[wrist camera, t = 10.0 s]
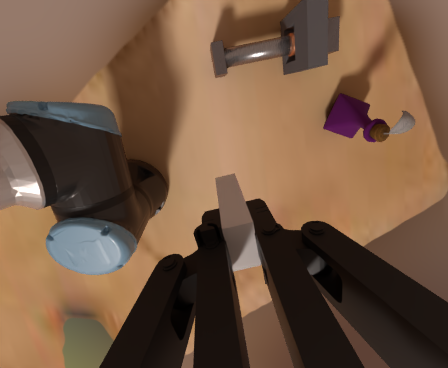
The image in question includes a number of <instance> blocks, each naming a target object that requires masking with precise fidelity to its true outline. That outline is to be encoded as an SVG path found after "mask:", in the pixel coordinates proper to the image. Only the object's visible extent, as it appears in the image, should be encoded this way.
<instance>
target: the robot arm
mask: <svg viewBox="0 0 448 368" xmlns="http://www.w3.org/2000/svg"><path fill="white" fill-rule="evenodd" d="M6 111H7V113H8V114H9V115H6V116H0V210H2V209H5V208H8V207H11V206H14V205H20V206H24V207H28V208H33V209H37V210H39V209H42V208H45V207H47V206H51V208H52V210H53V212H54V215H55V217H56V220H57V223H56V224H55V225H54V226H52V227H51V229H50V232H49V234H48V236H47V238H46V247H47V250H48V252H49V254H50V255H51V256H52V258H53V259H54V260H55V261H56V262H58V263H59V264H60V265H62V266H64V267H66V268H67V269H69V270H73V271H76V272H78V273H82V274H89V275H102V274H108V273H111V272H114V271H116V270H118V269H120V268H122V267H123V266H124V265H125V264H126V263H127V262H128V261H129V259H130V257H131V256H132V254H133V253H134V252H135V251H136V248H137V244H138V242H139V240H140V238H141V236H142V233H143V231H144V229H145V227H146V225H147V223H148V220H149V219H150V218H152V217H153V216H155V215H156V214H157V213H158V212H159V211H160V210H161V209H162V208H163V206H164V204H165V201H166V198H167V185H166V182H165V180H164V178H163V176H162V175H161V173H160V172H159V171H158V170H157V169H155V168H154V167H153V166H151V165H149V164H147V163H145V162H142V161H138V160H127V159H126V155H125V151H124V148H123V144H122V140H121V137H122V134H121V133H120V132H119V129H118V126H117V122H116V119H115V116H114V114H113V112H112V111H111V110H110V109H108V108H107V107H105V106H102V105H96V104H86V103H72V102H35V101H13V102H8V103H7V109H6ZM215 179H216V187H217V195H218V203H219V209H214V210H210V211H206V212H205V213H204V214H203V216H202V224H201V225H200V226H198V227H197V228H196V229H195V231H194V233H193V234H194V237H195V240H196V243H197V245H198V250H197V251H195V252H194V253H193V254H191V255H189V256H187V257H185V258H183V257H182V256H181V255H179V254H172V255H168V256H166V257H164V258H163V259H162V260H160V261H159V262H158V264H157V265H156V267H155V269H154V270H153V272H152V274H151V276H150V277H149V279H148V281H147V283H146V285H145V286H144V288H143V290H142V292H141V294H140V295H139V297H138V299H137V301H136V303H135V304H134V306H133V308H132V310H131V312H130V313H129V315H128V317H127V319H126V321H125V322H124V324H123V326H122V328H121V329H120V331H119V333H118V335H117V337H116V338H115V340H114V342H113V344H112V346H111V347H110V349H109V351H108V353H107V355H106V356H105V358H104V360H103V362H102V364H101V365H100V367H99V368H181V366H182V362H183V359H184V355H185V351H186V348H187V344H188V340H189V337H190V333H191V329H192V326H193V322H194V318H195V338H194V365H193V368H250V364H249V358H248V353H247V346H246V341H245V335H244V329H243V323H242V317H241V311H240V305H239V299H238V293H237V287H236V281H235V277H234V273H233V271H238V270H242V269H246V268H251V267H255V266H259V265H261V264H262V268H263V273H264V279H265V284H267V286H268V289H269V292H270V295H271V298H272V301H273V304H274V307H275V310H276V313H277V316H278V319H279V322H280V325H281V329H282V331H283V335H284V338H285V341H286V344H287V347H288V350H289V353H290V356H291V359H292V362H293V366H294V368H364V366H363V364H362V362H361V361H360V359H359V357H358V356H357V354H356V352H355V350H354V349H353V347H352V345H351V344H350V342H349V340H348V338H347V337H346V335H345V333H344V332H343V330H342V328H341V327H340V325H339V323H338V321H337V320H336V318H335V317H334V314H333V313H332V311H331V309H330V308H329V306H328V304H327V302H326V301H325V299H324V297H323V296H322V294H323V295H324V296H325V297H326V298H327V299H328V300H329V302H330V303H331V304H332V305H333V306H334V307H335V308H336V309H337V310H338V311H339V312H340V314H341V315H342V316H343V317H344V318H345V319H346V320H347V321H348V322H349V323H350V324H351V326H352V327H353V328H354V329H355V330H356V331H357V332H358V333H359V334H360V335H361V336H362V337H363V339H364V340H365V341H366V342H367V343H368V344H369V345H370V346H371V347H372V348H373V349H374V350H375V352H376V353H377V354H378V355H379V356H380V357H381V358H382V359H383V360H384V361H385V363H386V364H387V365H388V366H389V367H390V368H448V302H446V301H445V300H443V299H442V298H440V297H439V296H437V295H436V294H434V293H433V292H431V291H429V290H428V289H427V288H425V287H423V286H422V285H420V284H419V283H417V282H416V281H414V280H413V279H411V278H410V277H408V276H407V275H405V274H404V273H402V272H401V271H399V270H398V269H396V268H394V267H393V266H392V265H390V264H388V263H387V262H385V261H384V260H382V259H381V258H379V257H378V256H376V255H374V254H373V253H372V252H370V251H369V250H367V249H366V248H364V247H363V246H361V245H360V244H358V243H357V242H355V241H353V240H352V239H350V238H349V237H347V236H346V235H344V234H343V233H341V232H340V231H338V230H337V229H335V228H334V227H332V226H331V225H329V224H327V223H325V222H321V221H310V222H307V223H305V224H303V226H302V227H301V230H287V229H283V227H282V226H281V225H280V224H278V223H276V221H275V219H274V218H273V216H272V214H271V212H270V210H269V209H268V207H267V205H266V203H265V201H263V200H261V199H255V200H250V201H246V202H245V199H244V197H243V194H242V191H241V189H240V186H239V184H238V181H237V178H236V176H235V174H231V175H226V176H222V177H218V178H215ZM321 293H322V294H321Z"/></svg>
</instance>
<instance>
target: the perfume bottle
mask: <svg viewBox="0 0 448 368" xmlns="http://www.w3.org/2000/svg"><path fill="white" fill-rule="evenodd" d="M369 107H370V104H368V103H365V102H363V101H360V100H357V99H355V98H352V97H350V96H347V95H344V94H342V93H340V94H339V96H338V98H337V99H336V101H335V103H334V105H333V107H332V109H331V112H330V114H329V116H328V118H327V120H326V122H325V125H324V127H323V128H324V129H326V130H329V131H332V132H334V133H337V134H340V135H343V136H346V137H349V138H353V137H354V135H355V134H356V132H357V131H358V130H359V129H360V127H361V128H363V129H364V131H363V136H364V138H365V139H366V140H367V141H369V142H376V141H377V142H382V141H385V140H386V139H387V137H388V136H389V134H401V133H404V132H407V131H409V130H410V129H412V127H413V126H414V125H415V119H414V117H413V116H412V115H411V114H410V113H408V112H407V111H402V112H403V115H402V117H401V119H400V120H399V121H398V122H397V124H396V125H395V126H394V127H393V128H392V129H391V130H390V127H389V126H388V125H387V124H386V122H385V121H384V120H382V119H374V120H371V119H370V118H369V117H368V115H367V113H368V110H369Z"/></svg>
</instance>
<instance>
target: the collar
mask: <svg viewBox="0 0 448 368" xmlns="http://www.w3.org/2000/svg"><path fill="white" fill-rule="evenodd" d="M280 25H281V37H282V36H287V35H288V34H289V33H293V32H294V36H295V55H294V56H288V55H286V56H283V72H284V75H286V74H291V73H295V72H300V71H304V70H308V69H312V68H316V67H320V66H324V65H328V0H302V1H301V2H300V3H299V4H298V5H297V6H296V7H295V8H294V9H293V10H292V11H291V12H290V13H289V14H288V15H287V16H286V17H285V18H284V19H283V20H282V21H281V22H280Z"/></svg>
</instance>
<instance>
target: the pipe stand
mask: <svg viewBox="0 0 448 368" xmlns="http://www.w3.org/2000/svg"><path fill="white" fill-rule="evenodd" d="M339 18H340V16H337V17H333V18H328V54H330V53H333V52H336V51H339ZM210 51H211V57H212V62H213V68H214V73H215V78H218V77H223V76H225V75H226V74H227V68H228V67H233V66H238V65H243V64H248V63H252V62H257V61H262V60H267V59H272V58H277V57H282V56H286V55H288V56H294V55H295V36H294V32H293V33H289V34H288V35H287V36H282V37H278V38H273V39H268V40H263V41H258V42H253V43H249V44H244V45H239V46H234V47H229V48H223V42H222V40H221V41H217V42H212V43H211V45H210Z"/></svg>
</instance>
